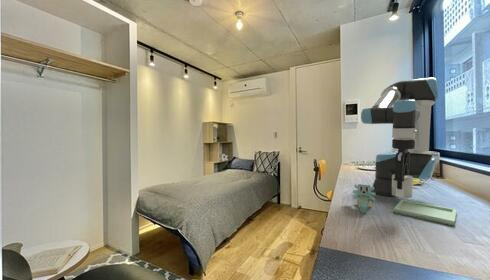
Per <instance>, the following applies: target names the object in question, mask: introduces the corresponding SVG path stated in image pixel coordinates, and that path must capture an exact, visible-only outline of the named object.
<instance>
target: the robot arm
mask: <svg viewBox="0 0 490 280" xmlns="http://www.w3.org/2000/svg"><path fill="white" fill-rule="evenodd" d="M439 99H440V93H439V84H438V81H437V78H436V77H423V78H417V79H408V80H400V81H397V82H394V83H392V84H390V85H388V86H387V87H386V88H384V90H382V91H381V94H380V97H379V98H378V99H377V101H375V103H374V104H373V106H372V107H366V108H363V109H362V110H361V113H360V119H361V122H362V124H364V125H383V124H384V125H386V124H390V125H391V124H392V132H391V133H392V134H391V137H392V138H393V139H392V143H391V148H393V149H397V152H385V153H378V154H376V156H375V161H374V162H375V169H374V170H375V172H374V173H375V176H374V177H375V178H374V181H373V183H372V186H374V188H375V189H373V190H371V192H374V193H376V194H377V195H380V196H385V197H394V198H395V197H396V196H398V197H396V198H400V197H403V198H402V199H405V198H404V175H409V176H412V177H413V179H415V180H416V179H418V180H426V181H427V180H430V179H432V176H433V174H434V170H435V167H436V158H435V157H433V153H431V152H430V151H429V150H430V134H431V132H430V130H431V114H432V106H433V105H434V104H436V100H439ZM393 174H395V179H394V180H396V196H393V195H392V175H393ZM372 186H371V187H372Z"/></svg>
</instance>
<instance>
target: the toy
mask: <svg viewBox="0 0 490 280" xmlns="http://www.w3.org/2000/svg"><path fill="white" fill-rule="evenodd" d="M353 187H354V188H355V189H354V190H352V193H353V197H352V198H353V199H356V205H357V206H358V207H359V212H360V213H362V214H367V213H368V208H372V207H373V202H375V201H376V196H377V195H376V193H374V192H372V190H373V189H375V188H374V186H371V185H370V184H362V183H361V184H359V183H357V184H356V183H355V184H354V186H353ZM356 189H357V190H356ZM374 196H375V197H374ZM368 200H370V201H368Z"/></svg>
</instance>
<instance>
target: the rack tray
mask: <svg viewBox="0 0 490 280" xmlns="http://www.w3.org/2000/svg"><path fill="white" fill-rule="evenodd" d="M394 212H395V214H398V213H400V214H399V215H402V214H404V215H403V216H407V215H409V216H408V217H411V216H413V217H412V218H415V217H418V218H417V219H420V218H422V219H421V220H424V219H426V220H425V221H429V220H430V222H433V221H434V223H438V222H439V224H442V223H443V224H444V225H446V224H448V225H447V226H451V225H452V227H456V226H455V225H456V220H457V219H456V218H457V208H451V207H446V206H442V205H436V204H435V205H434V204H430V203H425V202H417V201H413V200H408V199H405V198H401V200H400V201H399V202H398V203H397V204H396V205H395V206H394V208H393V213H394Z"/></svg>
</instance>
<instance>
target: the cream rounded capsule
mask: <svg viewBox="0 0 490 280" xmlns="http://www.w3.org/2000/svg"><path fill="white" fill-rule="evenodd" d="M394 179H395V174H393V175H392V195H393V196H396V180H394ZM413 185H414V178H413V177H412V176H409V175H404V198H403V197H398V196H396V198H401V199H411V198H413V193H414V192H413V188H414V186H413ZM393 196H392V197H393Z"/></svg>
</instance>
